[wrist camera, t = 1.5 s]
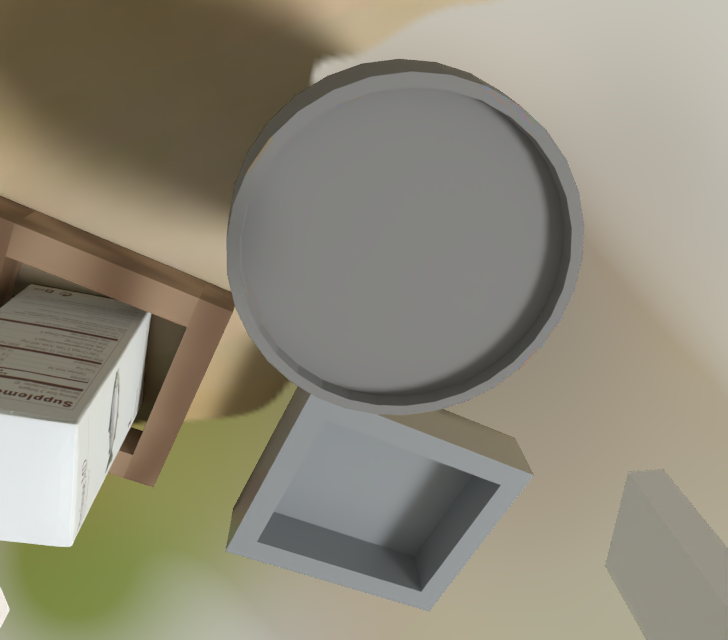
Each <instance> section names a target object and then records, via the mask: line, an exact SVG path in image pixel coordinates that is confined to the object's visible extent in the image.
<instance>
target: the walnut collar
mask: <svg viewBox="0 0 728 640" xmlns="http://www.w3.org/2000/svg"><path fill="white" fill-rule="evenodd" d="M21 262H22V263H24V264H27V265H29V266H32V267H35V268H37V269H40V270H42V271H45V272H47V273H50V274H52V275H55V276H58V277H60V278H63V279H65V280H68V281H70V282H73V283H75V284H78V285H80V286H83V287H86V288H88V289H91V290H93V291H96V292H98V293H101V294H103V295H106V296H108V297H111V298H114V299H116V300H119V301H121V302H124V303H126V304H129V305H131V306H134V307H136V308H139V309H142V310H144V311H147V312H149V313H152V314H154V315H157V316H159V317H162V318H165V319H167V320H170V321H172V322H175V323H177V324H180V325H182V326H185V327H187V329H186V331H185V333H184V336H183V338H182V340H181V343H180V345H179V347H178V350H177V352H176V355H175V357H174V359H173V362H172V364H171V366H170V369H169V371H168V373H167V376H166V378H165V380H164V383H163V385H162V388H161V390H160V392H159V395H158V397H157V399H156V402H155V404H154V406H153V409H152V411H151V414H150V416H149V418H148V421H147V423H146V425H145V428H144V430H143V431H140V430H138V429H135V428H132V427H130V429H129V431H128V433H127V435H126V437H125V439H124V441H123V443H122V445H121V447H120V449H119V451H118V453H117V455H116V457H115V459H114V461H113V463H112V465H111V467H110V469H109V471H108V473H110V474H113V475H116V476H119V477H123V478H126V479H129V480H132V481H135V482H139V483H142V484H145V485H148V486H152V487H154V485H155V483H156V480H157V478H158V476H159V474H160V472H161V469H162V467H163V465H164V463H165V461H166V458H167V456H168V454H169V451H170V450H171V447H172V445H173V443H174V441H175V439H176V436H177V434H178V432H179V430H180V427H181V425H182V423H183V421H184V419H185V416H186V414H187V412H188V410H189V408H190V405H191V403H192V401H193V399H194V397H195V394H196V392H197V390H198V388H199V386H200V383H201V381H202V379H203V377H204V375H205V372H206V370H207V368H208V366H209V363H210V361H211V359H212V357H213V355H214V352H215V350H216V348H217V346H218V344H219V341H220V339H221V337H222V335H223V333H224V330H225V328H226V326H227V324H228V321H229V319H230V317H231V315H232V313H233V310H234V307H235V305H234V300H233V296H232V293H231V292H229V291H227V290H224V289H222V288H219V287H217V286H215V285H212V284H210V283H207V282H205V281H203V280H200V279H198V278H195V277H193V276H191V275H188V274H186V273H184V272H181V271H179V270H176V269H174V268H172V267H169V266H167V265H164V264H162V263H160V262H157V261H155V260H152V259H150V258H148V257H145V256H143V255H140V254H138V253H136V252H133V251H131V250H128V249H126V248H124V247H121V246H119V245H116V244H114V243H112V242H109V241H107V240H104V239H102V238H100V237H97V236H95V235H92V234H90V233H88V232H85V231H83V230H80V229H78V228H76V227H73V226H71V225H68V224H66V223H64V222H61V221H59V220H56V219H54V218H52V217H49V216H47V215H44V214H42V213H40V212H37V211H35V210H32V209H30V208H28V207H25V206H23V205H20V204H18V203H16V202H13V201H11V200H8V199H6V198H4V197H1V196H0V308H1V307H2V306H4V305H5V304H6V303H7V302H8V301H10V300H11V296H12V293H13V289H14V286H15V282H16V279H17V275H18V272H19V268H20V265H21Z"/></svg>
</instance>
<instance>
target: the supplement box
mask: <svg viewBox="0 0 728 640" xmlns="http://www.w3.org/2000/svg"><path fill="white" fill-rule="evenodd" d="M151 314H152V313H149V312H147V311H144V310H142V309H139V308H136V307H134V306H131V305H129V304H126V303H124V302H121V301H119V300H116V299H110V298H105V297H100V296H94V295H89V294H84V293H78V292H73V291H68V290H62V289H57V288H50V287H45V286H39V285H32V284H30V285H29V286H27V287H26V288H25V289H24V290H22V291H21V292H20V293H19V294H17V295H16V296H15V297H13V298H12V299H11V300H10V301H8V302H7V303H6V304H5V305H4V306H2V307H1V308H0V540H4V541H12V542H22V543H31V544H40V545H48V546H62V547H70V546H72V544H73V542H74V540H75V537H76V535H77V533H78V531H79V530H80V528H81V525H82V523H83V521H84V519H85V517H86V515H87V513H88V511H89V509H90V507H91V505H92V503H93V501H94V499H95V497H96V495H97V493H98V491H99V489H100V487H101V485H102V483H103V481H104V479H105V477H106V475H107V473H108V471H109V469H110V467H111V465H112V463H113V461H114V459H115V457H116V455H117V453H118V451H119V449H120V447H121V445H122V443H123V441H124V439H125V437H126V435H127V433H128V431H129V429H130V427H131V425H132V423H133V421H134V419H135V417H136V415H137V413H138V411H139V409H140V407H141V405H142V403H143V387H144V372H145V361H146V352H147V344H148V335H149V327H150V321H151Z"/></svg>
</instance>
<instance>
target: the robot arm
mask: <svg viewBox="0 0 728 640" xmlns="http://www.w3.org/2000/svg"><path fill="white" fill-rule="evenodd" d="M605 566H606V568H607V570H608V572H609V574H610V576H611V577H612V579H613V581H614V583H615V585H616V587H617V588H618V590H619V592H620V594H621V595H622V597H623V599H624V601H625V602H626V604H627V606H628V608H629V610H630V612H631V614H632V615H633V617H634V619H635V621H636V622H637V624H638V626H639V628H640V630H641V631H642V633H643V635H644V637H645V639H646V640H728V548H727V546H726V545H725V544H724V543H723V541H722V540H721V539H720V538H719V537H718V535H717V534H716V533H715V532H714V530H713V529H712V528H711V527H710V526H709V524H708V523H707V522H706V521H705V519H704V518H703V517H702V516H701V515H700V513H699V512H698V511H697V510H696V508H695V507H694V506H693V505H692V503H691V502H690V501H689V500H688V499H687V497H686V496H685V495H684V494H683V493H682V491H681V490H680V489H679V488H678V486H677V485H676V484H675V483H674V481H673V480H672V479H671V478H670V477H669V475H668V474H667V473H666V472H665V470H664V469H662V470H645V471H630V472H628V474H627V479H626V482H625V486H624V491H623V495H622V499H621V503H620V507H619V511H618V516H617V519H616V523H615V528H614V532H613V536H612V540H611V544H610V548H609V552H608V557H607V560H606V565H605ZM9 610H10V609H9V607H8V604H7V602H6V599H5V597H4V594H3V592H2V590H1V587H0V627H1V626H2V624H3V622H4V620H5V618H6V616H7V614H8V613H9Z"/></svg>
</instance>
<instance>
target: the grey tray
mask: <svg viewBox="0 0 728 640" xmlns="http://www.w3.org/2000/svg"><path fill="white" fill-rule="evenodd" d="M533 476H534V474H533V472H532V470H531V469H530V467H529V465H528V463H527V461H526V459H525V457H524V455H523V453H522V451H521V449H520V447H519V445H518V443H517V441H516V439H515V438H513V437H511V436H508V435H506V434H503V433H501V432H498V431H496V430H493V429H491V428H489V427H486V426H483V425H481V424H479V423H476V422H474V421H471V420H468V419H466V418H463V417H461V416H459V415H456V414H454V413H451V412H449V411H446V410H443V409H440V410H437V411H431V412H424V413H416V414H409V415H385V414H371V413H366V412H361V411H356V410H351V409H346V408H343V407H340V406H337V405H335V404H332V403H330V402H327V401H324V400H322V399H319V398H317V397H315V396H313V395H312V394H310V393H308V392H307V391H305V390H303V389H302V388H300V387H299V386H298V387H297V389H296V391H295V393H294V395H293V397H292V399H291V401H290V403H289V404H288V406H287V408H286V410H285V412H284V414H283V416H282V418H281V419H280V421H279V423H278V425H277V427H276V429H275V431H274V433H273V434H272V436H271V438H270V440H269V442H268V444H267V446H266V448H265V450H264V452H263V453H262V455H261V457H260V459H259V461H258V463H257V465H256V467H255V468H254V470H253V472H252V474H251V476H250V478H249V480H248V482H247V484H246V485H245V487H244V489H243V491H242V493H241V495H240V497H239V499H238V500H237V502H236V504H235V506H234V508H233V513H232V518H231V524H230V529H229V535H228V540H227V546H226V551H227V552H230V553H233V554H236V555H240V556H243V557H247V558H250V559H254V560H257V561H260V562H263V563H267V564H270V565H274V566H277V567H281V568H284V569H287V570H291V571H294V572H298V573H301V574H304V575H308V576H311V577H314V578H318V579H321V580H325V581H328V582H331V583H335V584H338V585H341V586H345V587H348V588H352V589H355V590H358V591H362V592H365V593H368V594H372V595H375V596H379V597H382V598H386V599H389V600H392V601H396V602H399V603H402V604H406V605H409V606H412V607H416V608H419V609H423V610H426V611H430V610H431V609H432V607H433V606H434V605H435V603H436V602H437V601H438V599H439V598H440V597H441V596H442V594H443V593H444V592H445V590H446V589H447V588H448V586H449V585H450V584H451V583H452V581H453V580H454V579H455V577H456V576H457V575H458V573H459V572H460V571H461V570H462V568H463V567H464V566H465V564H466V563H467V562H468V561H469V559H470V558H471V557H472V555H473V554H474V552H475V551H476V550H477V549H478V547H479V546H480V545H481V544H482V542H483V541H484V540H485V538H486V537H487V536H488V534H489V533H490V532H491V530H492V529H493V528H494V527H495V525H496V524H497V523H498V521H499V520H500V519H501V517H502V516H503V515H504V514H505V512H506V511H507V510H508V508H509V507H510V506H511V504H512V503H513V502H514V501H515V499H516V498H517V496H518V495H519V494H520V493H521V492H522V490H523V489H524V487H525V486H526V485H527V484H528V482H529V481H530V480H531V478H532V477H533Z"/></svg>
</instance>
